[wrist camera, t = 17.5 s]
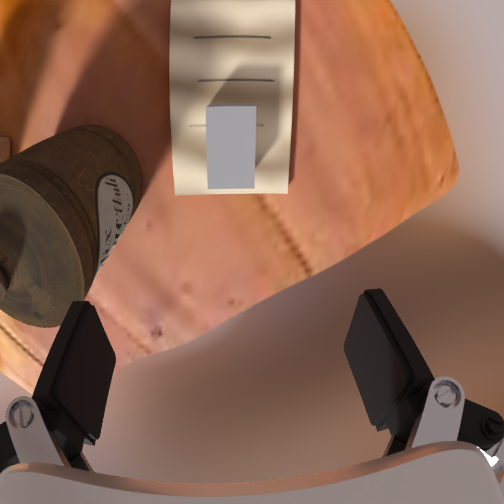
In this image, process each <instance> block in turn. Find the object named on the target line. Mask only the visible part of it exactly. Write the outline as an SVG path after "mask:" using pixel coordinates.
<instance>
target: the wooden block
mask: <svg viewBox="0 0 504 504" xmlns="http://www.w3.org/2000/svg"><path fill="white" fill-rule="evenodd" d="M10 149H11V141H10V139H9V138H6V137H1V136H0V163H2V162H4V161H5V160H7V159H9V158H10Z"/></svg>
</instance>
